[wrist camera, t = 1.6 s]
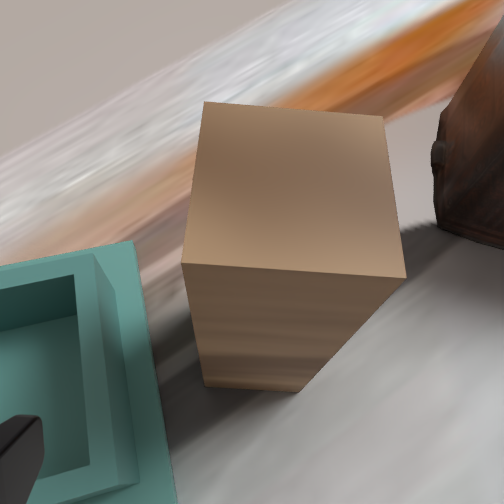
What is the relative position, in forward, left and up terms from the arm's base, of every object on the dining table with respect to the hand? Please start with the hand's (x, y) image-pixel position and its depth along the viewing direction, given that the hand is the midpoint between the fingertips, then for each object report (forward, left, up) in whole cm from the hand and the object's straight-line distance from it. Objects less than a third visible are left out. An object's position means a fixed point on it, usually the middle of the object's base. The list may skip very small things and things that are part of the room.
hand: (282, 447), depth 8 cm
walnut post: (+3, +4, -12) cm, 13 cm away
